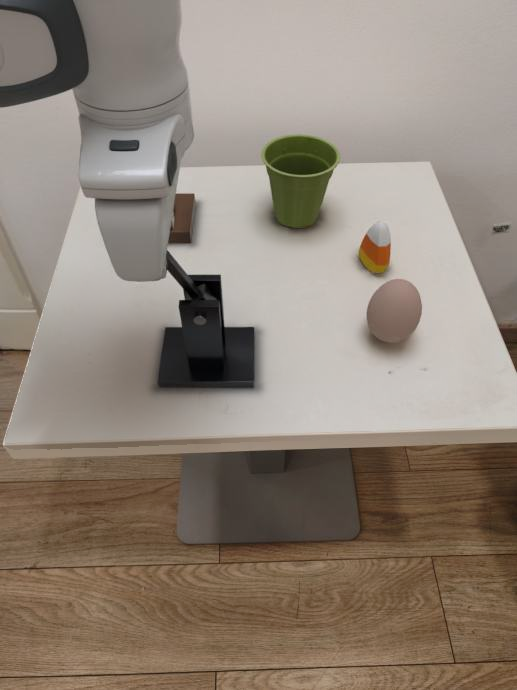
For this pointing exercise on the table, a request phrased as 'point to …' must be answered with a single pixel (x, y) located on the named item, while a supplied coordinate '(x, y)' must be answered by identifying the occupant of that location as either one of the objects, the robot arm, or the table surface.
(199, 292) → the lever
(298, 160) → the plant pot
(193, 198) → the button block
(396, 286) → the egg
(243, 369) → the bracket
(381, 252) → the candy corn
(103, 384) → the table surface
